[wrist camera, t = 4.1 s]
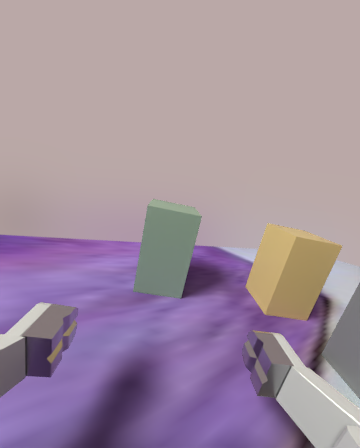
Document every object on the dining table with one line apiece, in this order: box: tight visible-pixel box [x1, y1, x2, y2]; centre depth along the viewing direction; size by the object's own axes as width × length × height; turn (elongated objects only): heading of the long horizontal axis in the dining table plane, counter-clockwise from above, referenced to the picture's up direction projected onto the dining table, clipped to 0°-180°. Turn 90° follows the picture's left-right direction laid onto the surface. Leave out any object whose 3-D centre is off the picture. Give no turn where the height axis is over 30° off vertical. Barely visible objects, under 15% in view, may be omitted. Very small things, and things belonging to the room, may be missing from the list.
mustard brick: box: [246, 223, 342, 321], centre depth 20 cm, size 5×5×9 cm
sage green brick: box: [133, 199, 202, 299], centre depth 19 cm, size 5×5×9 cm
